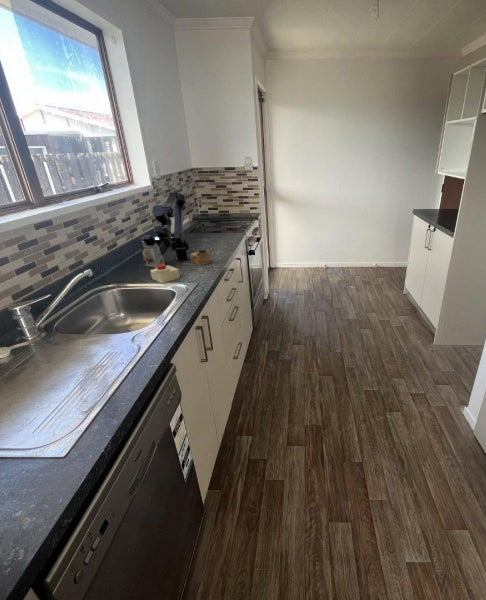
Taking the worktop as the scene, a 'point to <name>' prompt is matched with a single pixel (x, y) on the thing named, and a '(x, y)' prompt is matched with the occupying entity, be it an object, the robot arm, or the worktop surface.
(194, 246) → the worktop surface
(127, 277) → the worktop surface
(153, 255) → the coffee box
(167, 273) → the cream block
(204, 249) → the knob
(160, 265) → the knob
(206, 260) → the oak block
